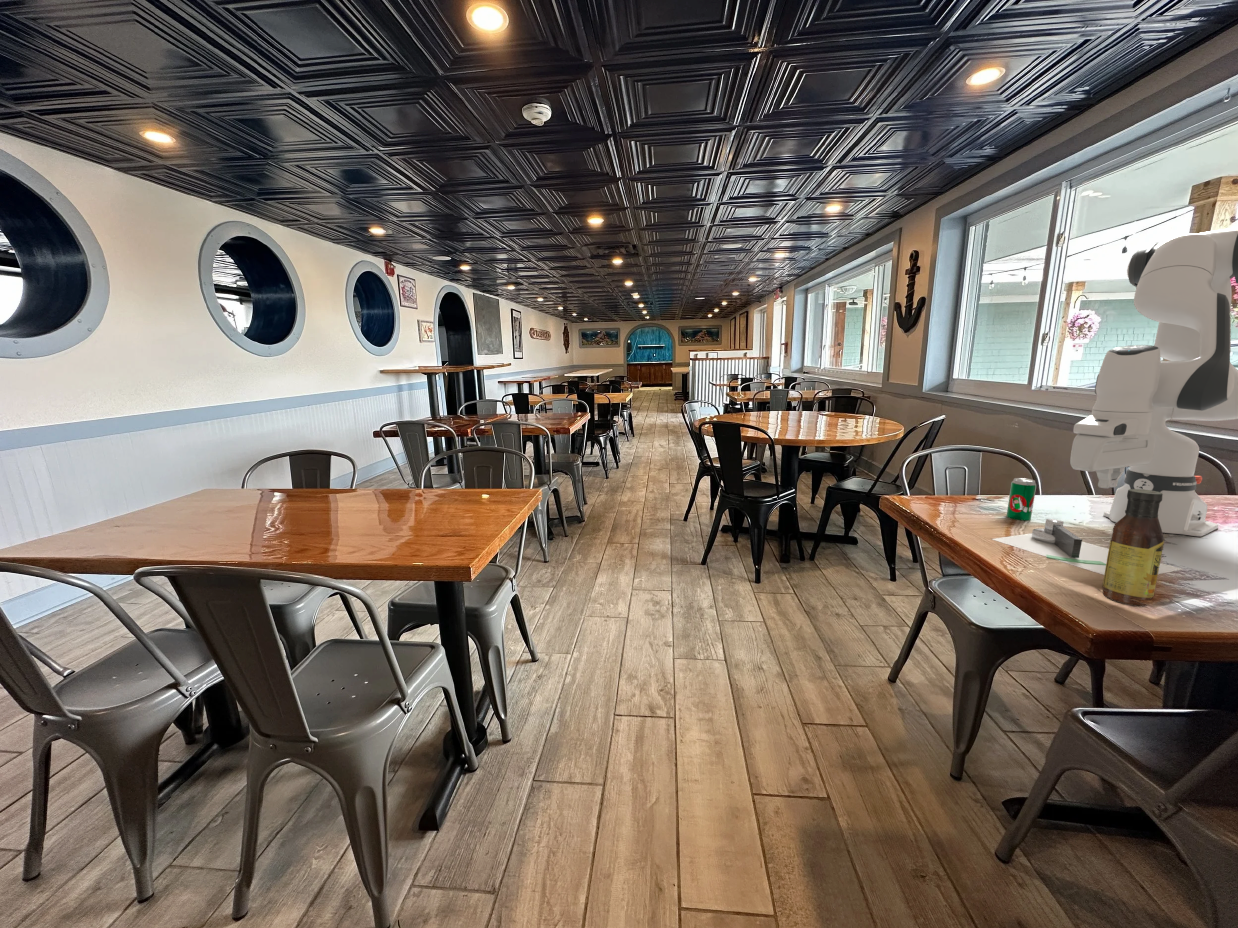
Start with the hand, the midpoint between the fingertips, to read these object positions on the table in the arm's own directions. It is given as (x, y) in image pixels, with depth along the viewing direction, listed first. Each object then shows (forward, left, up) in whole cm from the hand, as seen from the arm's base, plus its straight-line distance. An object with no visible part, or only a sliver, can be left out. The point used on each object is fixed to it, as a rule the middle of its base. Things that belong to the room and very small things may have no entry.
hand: (1107, 487), depth 102 cm
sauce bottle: (+21, +16, -16) cm, 31 cm away
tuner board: (+7, +1, -15) cm, 17 cm away
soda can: (-8, -21, -16) cm, 27 cm away
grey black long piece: (+7, -3, -13) cm, 15 cm away
